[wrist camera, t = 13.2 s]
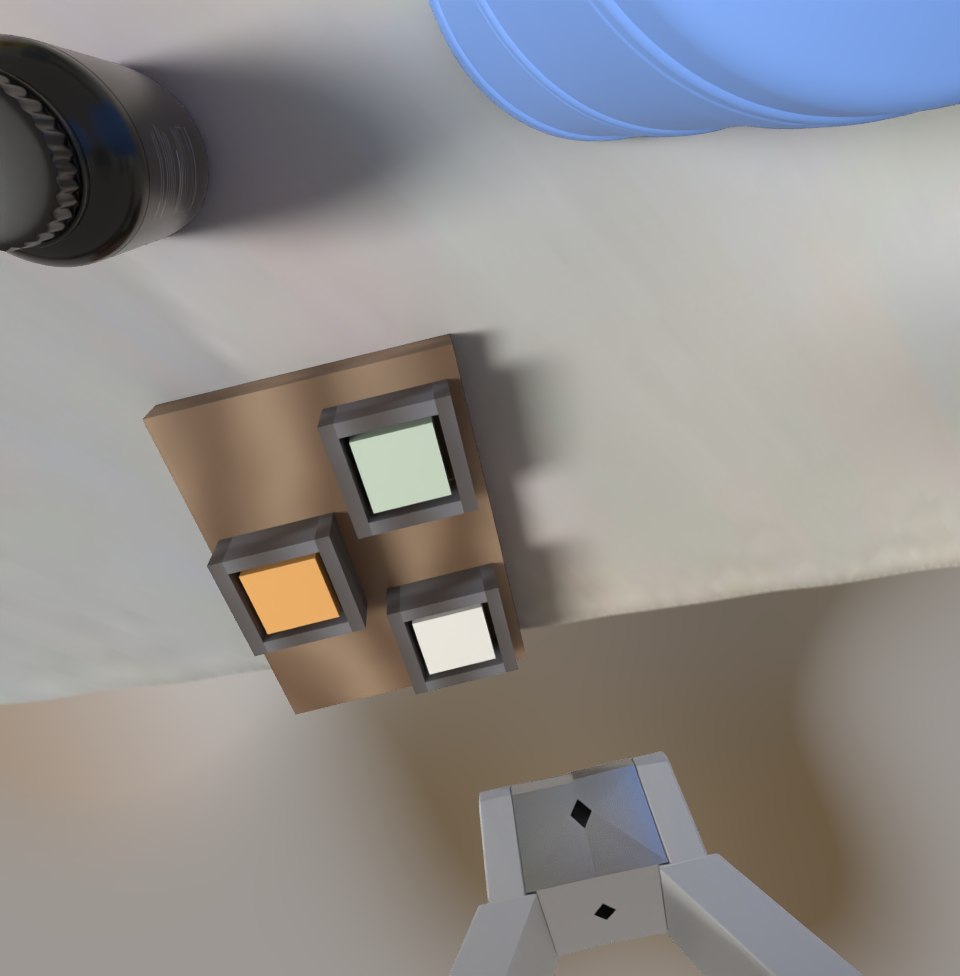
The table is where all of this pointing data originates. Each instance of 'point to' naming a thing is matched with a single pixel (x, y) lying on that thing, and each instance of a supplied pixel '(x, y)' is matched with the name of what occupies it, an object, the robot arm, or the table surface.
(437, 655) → the cream button
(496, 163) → the table surface
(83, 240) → the supplement bottle
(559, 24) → the water jug
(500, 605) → the button panel
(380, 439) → the sage button
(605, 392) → the table surface
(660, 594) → the table surface
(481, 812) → the robot arm
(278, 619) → the orange button
